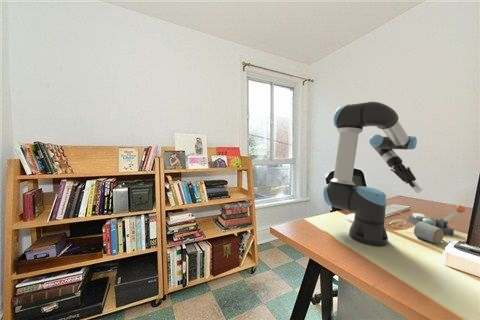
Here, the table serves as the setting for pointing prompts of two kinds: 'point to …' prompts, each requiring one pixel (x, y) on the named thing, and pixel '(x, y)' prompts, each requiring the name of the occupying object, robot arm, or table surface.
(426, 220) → the push button
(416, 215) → the rocker
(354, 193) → the robot arm
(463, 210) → the toggle lever
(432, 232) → the grey cylinder
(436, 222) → the dark grey lumpy shape
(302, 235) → the table surface
